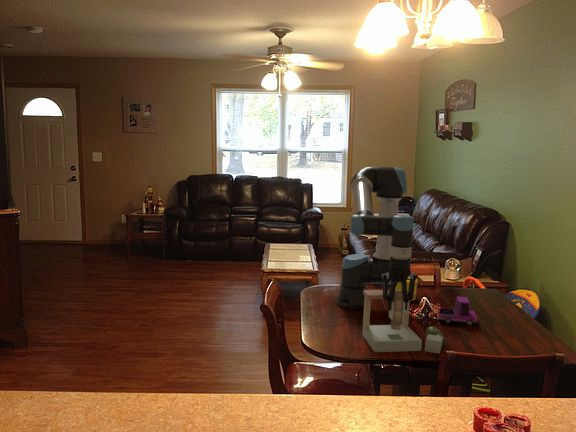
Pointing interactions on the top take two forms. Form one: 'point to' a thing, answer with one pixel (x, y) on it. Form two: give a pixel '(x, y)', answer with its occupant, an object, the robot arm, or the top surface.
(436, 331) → the pear
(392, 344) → the socket board
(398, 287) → the tape roll
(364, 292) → the beige arch frame
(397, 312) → the peg
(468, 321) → the toy truck
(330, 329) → the top surface
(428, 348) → the small box
